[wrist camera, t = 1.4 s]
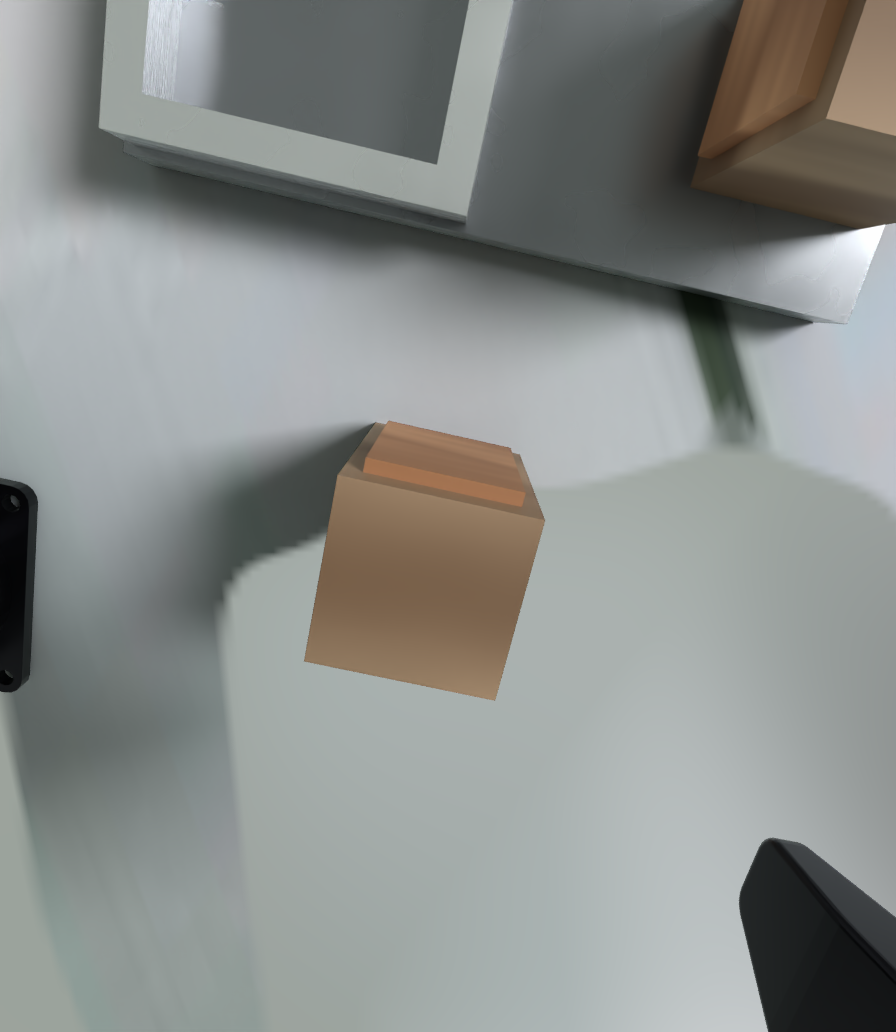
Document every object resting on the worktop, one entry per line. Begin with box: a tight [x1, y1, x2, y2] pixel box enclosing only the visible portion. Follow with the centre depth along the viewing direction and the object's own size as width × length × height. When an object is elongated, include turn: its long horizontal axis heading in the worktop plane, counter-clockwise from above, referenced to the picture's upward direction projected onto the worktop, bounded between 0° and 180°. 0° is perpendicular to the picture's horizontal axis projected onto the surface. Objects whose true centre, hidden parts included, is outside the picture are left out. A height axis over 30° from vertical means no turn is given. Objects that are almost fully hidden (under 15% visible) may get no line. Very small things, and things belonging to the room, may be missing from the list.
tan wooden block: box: [304, 421, 545, 700], centre depth 16 cm, size 4×4×6 cm
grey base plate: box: [99, 0, 885, 324], centre depth 15 cm, size 8×17×3 cm, turn 77°
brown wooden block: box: [690, 0, 896, 229], centre depth 12 cm, size 4×4×6 cm
